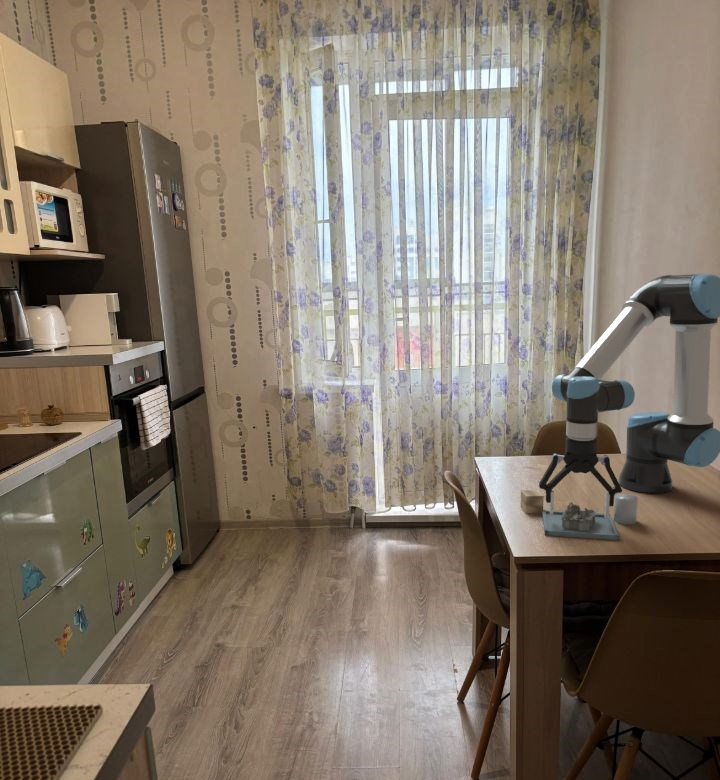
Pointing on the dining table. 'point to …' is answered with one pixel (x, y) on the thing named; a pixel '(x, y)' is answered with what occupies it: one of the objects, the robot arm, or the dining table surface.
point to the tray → (597, 531)
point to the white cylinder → (625, 509)
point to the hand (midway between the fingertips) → (578, 515)
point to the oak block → (532, 501)
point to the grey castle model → (578, 518)
